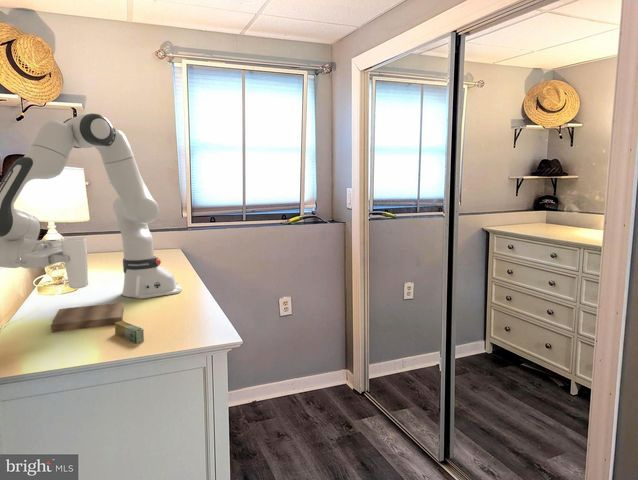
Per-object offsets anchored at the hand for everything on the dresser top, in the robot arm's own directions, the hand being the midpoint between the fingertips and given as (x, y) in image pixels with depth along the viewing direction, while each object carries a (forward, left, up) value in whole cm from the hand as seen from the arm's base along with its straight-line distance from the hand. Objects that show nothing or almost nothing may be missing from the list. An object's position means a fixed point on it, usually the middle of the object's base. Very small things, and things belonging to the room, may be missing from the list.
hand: (77, 255), depth 143 cm
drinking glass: (0, 0, -10) cm, 10 cm away
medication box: (-14, +13, -24) cm, 30 cm away
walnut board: (-1, -7, -23) cm, 25 cm away
